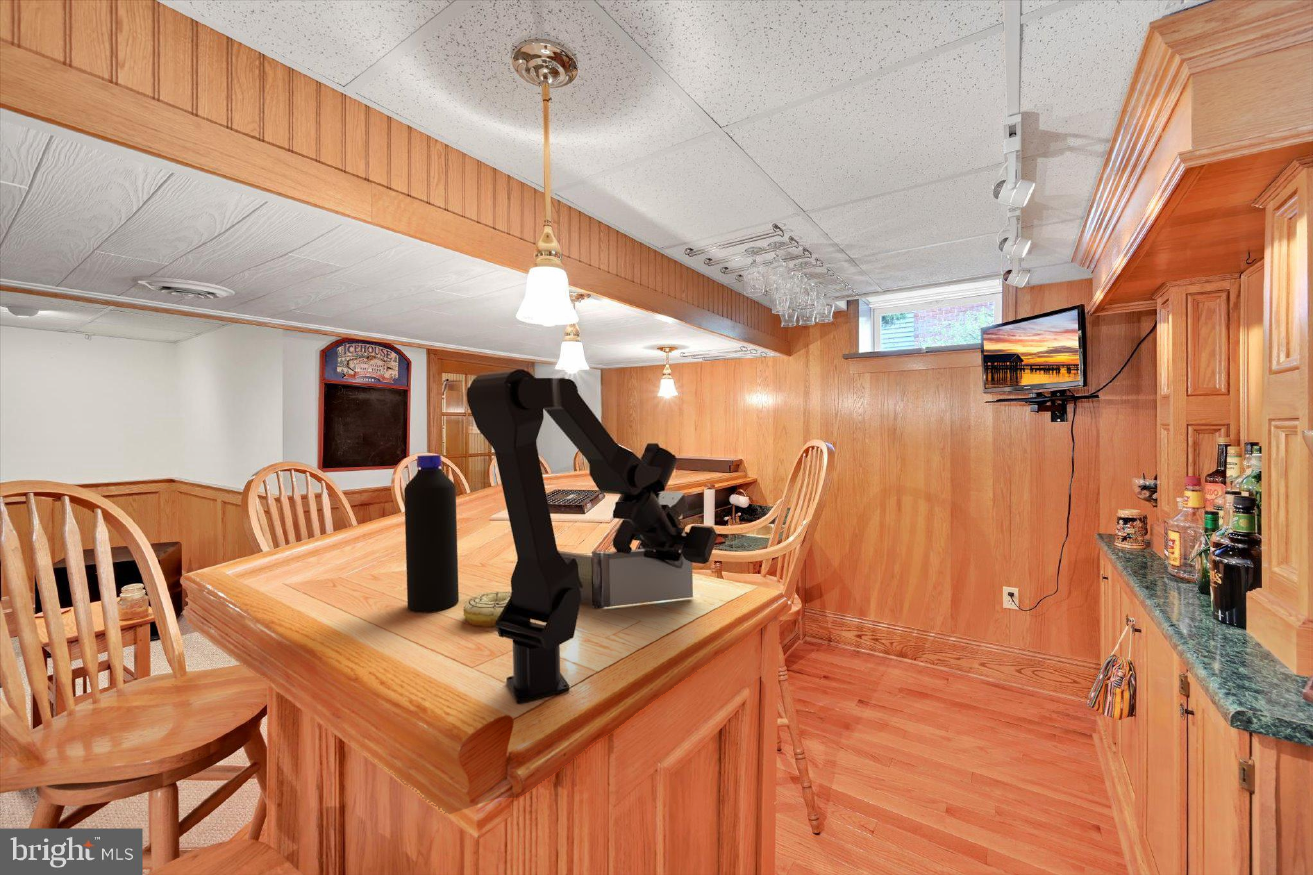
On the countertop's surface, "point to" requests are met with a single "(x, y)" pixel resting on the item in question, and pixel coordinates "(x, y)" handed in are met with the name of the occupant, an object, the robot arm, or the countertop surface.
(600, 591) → the gate frame
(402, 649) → the countertop surface
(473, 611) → the decorated donut
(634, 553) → the gate leaf
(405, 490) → the bottle
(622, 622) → the countertop surface
